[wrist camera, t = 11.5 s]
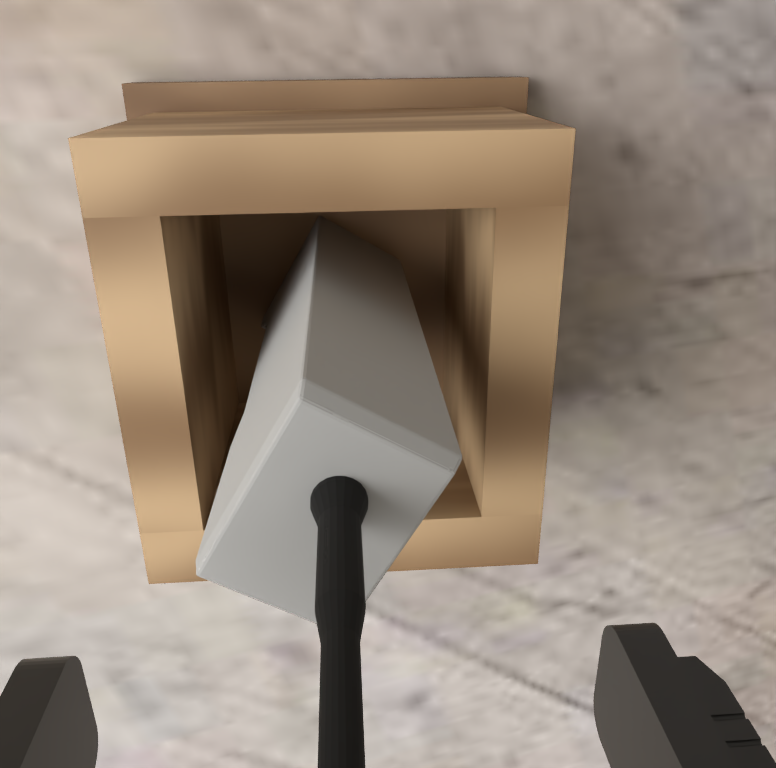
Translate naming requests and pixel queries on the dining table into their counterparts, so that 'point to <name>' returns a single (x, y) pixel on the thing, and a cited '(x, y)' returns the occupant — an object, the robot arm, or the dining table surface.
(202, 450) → the socket block
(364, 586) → the vintage mobile phone
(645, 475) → the dining table surface
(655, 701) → the robot arm
